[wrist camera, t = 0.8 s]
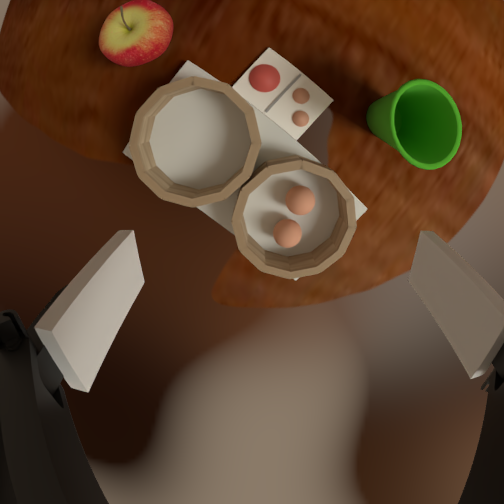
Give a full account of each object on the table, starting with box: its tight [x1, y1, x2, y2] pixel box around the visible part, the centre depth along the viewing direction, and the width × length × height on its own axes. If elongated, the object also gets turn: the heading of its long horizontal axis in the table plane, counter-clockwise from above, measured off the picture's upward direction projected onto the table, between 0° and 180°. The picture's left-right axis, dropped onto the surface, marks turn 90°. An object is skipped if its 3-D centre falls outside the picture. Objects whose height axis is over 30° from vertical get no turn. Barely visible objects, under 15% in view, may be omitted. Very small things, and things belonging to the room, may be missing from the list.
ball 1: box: [285, 185, 315, 215], centre depth 32 cm, size 4×4×4 cm
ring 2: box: [231, 155, 357, 279], centre depth 33 cm, size 14×14×4 cm
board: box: [123, 61, 367, 280], centre depth 33 cm, size 29×14×1 cm, turn 51°
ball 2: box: [273, 219, 302, 248], centre depth 34 cm, size 4×4×4 cm
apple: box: [99, 0, 173, 67], centre depth 21 cm, size 8×8×10 cm
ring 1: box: [129, 76, 262, 207], centre depth 29 cm, size 14×14×4 cm
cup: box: [366, 79, 462, 170], centre depth 25 cm, size 9×9×11 cm
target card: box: [232, 48, 334, 140], centre depth 29 cm, size 10×7×1 cm
